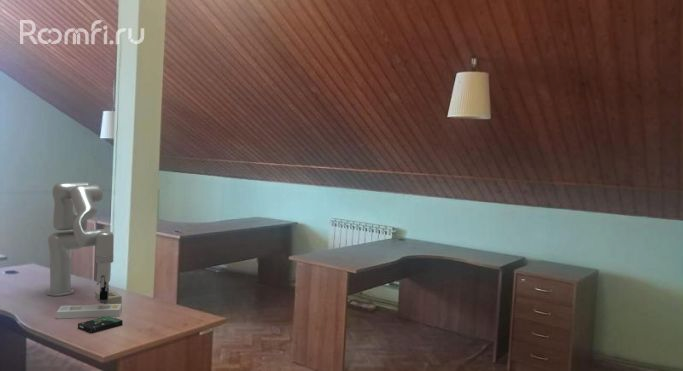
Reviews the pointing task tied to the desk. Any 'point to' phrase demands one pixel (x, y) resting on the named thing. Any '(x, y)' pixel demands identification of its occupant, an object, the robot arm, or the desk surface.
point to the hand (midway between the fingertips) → (104, 298)
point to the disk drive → (100, 324)
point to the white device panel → (89, 311)
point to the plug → (108, 296)
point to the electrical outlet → (111, 297)
